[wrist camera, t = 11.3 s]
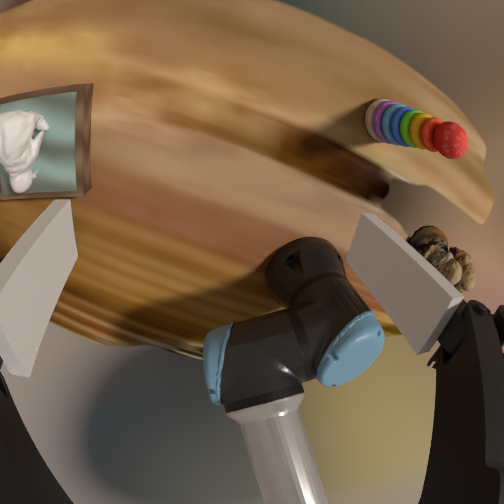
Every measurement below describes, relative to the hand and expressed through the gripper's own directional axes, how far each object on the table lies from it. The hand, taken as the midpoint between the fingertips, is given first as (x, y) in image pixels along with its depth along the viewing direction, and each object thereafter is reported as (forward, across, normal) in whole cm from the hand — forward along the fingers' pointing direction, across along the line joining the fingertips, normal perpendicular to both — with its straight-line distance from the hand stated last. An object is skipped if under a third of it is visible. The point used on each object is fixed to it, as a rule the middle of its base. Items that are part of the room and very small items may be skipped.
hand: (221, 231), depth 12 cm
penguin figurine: (+28, +24, +1) cm, 37 cm away
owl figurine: (+32, -54, +18) cm, 65 cm away
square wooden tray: (+32, +24, +1) cm, 40 cm away
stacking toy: (+32, -30, -7) cm, 44 cm away
